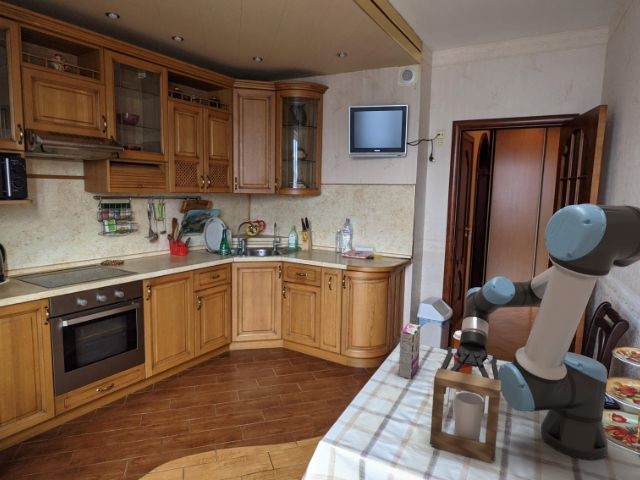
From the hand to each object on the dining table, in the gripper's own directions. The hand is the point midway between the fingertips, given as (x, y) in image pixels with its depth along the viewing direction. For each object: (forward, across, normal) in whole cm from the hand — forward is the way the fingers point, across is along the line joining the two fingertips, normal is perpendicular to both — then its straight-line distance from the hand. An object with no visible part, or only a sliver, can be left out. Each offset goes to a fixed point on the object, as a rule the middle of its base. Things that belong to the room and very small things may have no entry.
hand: (465, 410), depth 114 cm
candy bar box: (-17, +22, -26) cm, 38 cm away
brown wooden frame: (+10, 0, +2) cm, 10 cm away
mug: (+7, 0, -1) cm, 7 cm away
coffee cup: (-22, +4, -31) cm, 39 cm away
